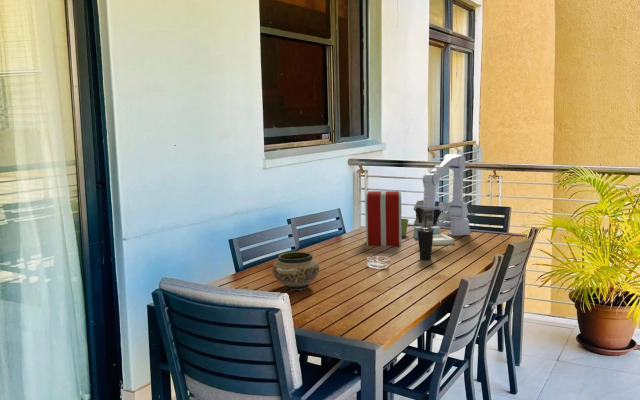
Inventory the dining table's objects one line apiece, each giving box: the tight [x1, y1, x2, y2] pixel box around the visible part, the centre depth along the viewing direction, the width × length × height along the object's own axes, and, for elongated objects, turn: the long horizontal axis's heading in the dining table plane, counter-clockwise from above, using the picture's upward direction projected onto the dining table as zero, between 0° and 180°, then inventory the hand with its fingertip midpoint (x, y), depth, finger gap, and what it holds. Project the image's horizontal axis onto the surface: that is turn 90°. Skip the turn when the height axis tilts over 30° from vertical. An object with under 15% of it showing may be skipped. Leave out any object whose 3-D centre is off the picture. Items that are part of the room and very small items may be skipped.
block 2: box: [430, 225, 441, 234], centre depth 316 cm, size 4×4×6 cm
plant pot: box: [401, 218, 410, 237], centre depth 326 cm, size 9×9×9 cm
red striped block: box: [365, 190, 403, 247], centre depth 307 cm, size 16×18×27 cm
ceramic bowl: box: [272, 251, 320, 291], centre depth 228 cm, size 24×18×15 cm
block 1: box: [413, 226, 422, 240], centre depth 317 cm, size 4×4×6 cm
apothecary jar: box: [413, 199, 436, 227], centre depth 330 cm, size 12×12×18 cm
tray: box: [432, 233, 455, 247], centre depth 306 cm, size 12×15×2 cm
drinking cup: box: [417, 216, 434, 261], centre depth 268 cm, size 8×8×20 cm
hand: (427, 223), depth 300 cm, fingers open, 7 cm apart
